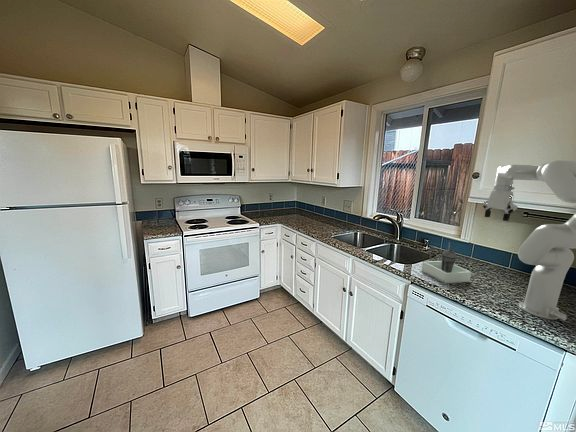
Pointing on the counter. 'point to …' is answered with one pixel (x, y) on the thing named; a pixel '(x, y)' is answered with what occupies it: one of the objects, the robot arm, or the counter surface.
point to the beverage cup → (448, 260)
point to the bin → (454, 277)
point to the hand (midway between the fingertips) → (495, 218)
